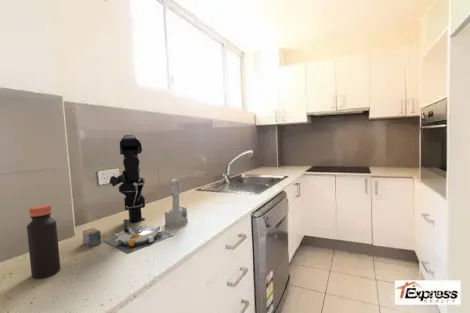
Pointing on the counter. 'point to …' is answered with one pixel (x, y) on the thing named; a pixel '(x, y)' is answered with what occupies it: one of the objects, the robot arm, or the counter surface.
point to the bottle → (43, 242)
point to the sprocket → (137, 234)
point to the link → (91, 237)
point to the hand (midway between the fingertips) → (134, 203)
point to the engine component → (176, 208)
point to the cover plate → (133, 248)
